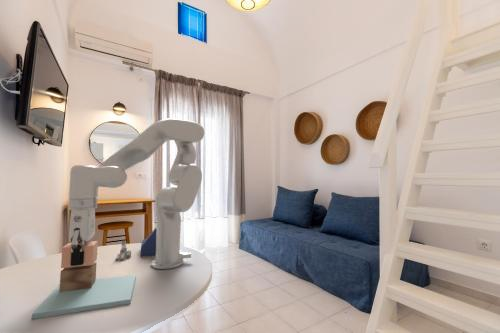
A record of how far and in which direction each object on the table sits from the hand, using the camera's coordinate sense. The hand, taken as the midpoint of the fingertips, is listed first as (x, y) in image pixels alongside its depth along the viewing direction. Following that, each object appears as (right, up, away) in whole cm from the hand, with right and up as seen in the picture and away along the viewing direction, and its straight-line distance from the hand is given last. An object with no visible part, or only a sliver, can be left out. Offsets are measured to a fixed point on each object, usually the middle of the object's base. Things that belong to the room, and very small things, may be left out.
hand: (80, 261), depth 74 cm
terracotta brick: (0, -1, 0) cm, 1 cm away
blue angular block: (+8, -11, +39) cm, 42 cm away
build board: (+6, -9, -3) cm, 11 cm away
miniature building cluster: (0, -11, +29) cm, 31 cm away
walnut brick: (0, -8, 0) cm, 8 cm away
